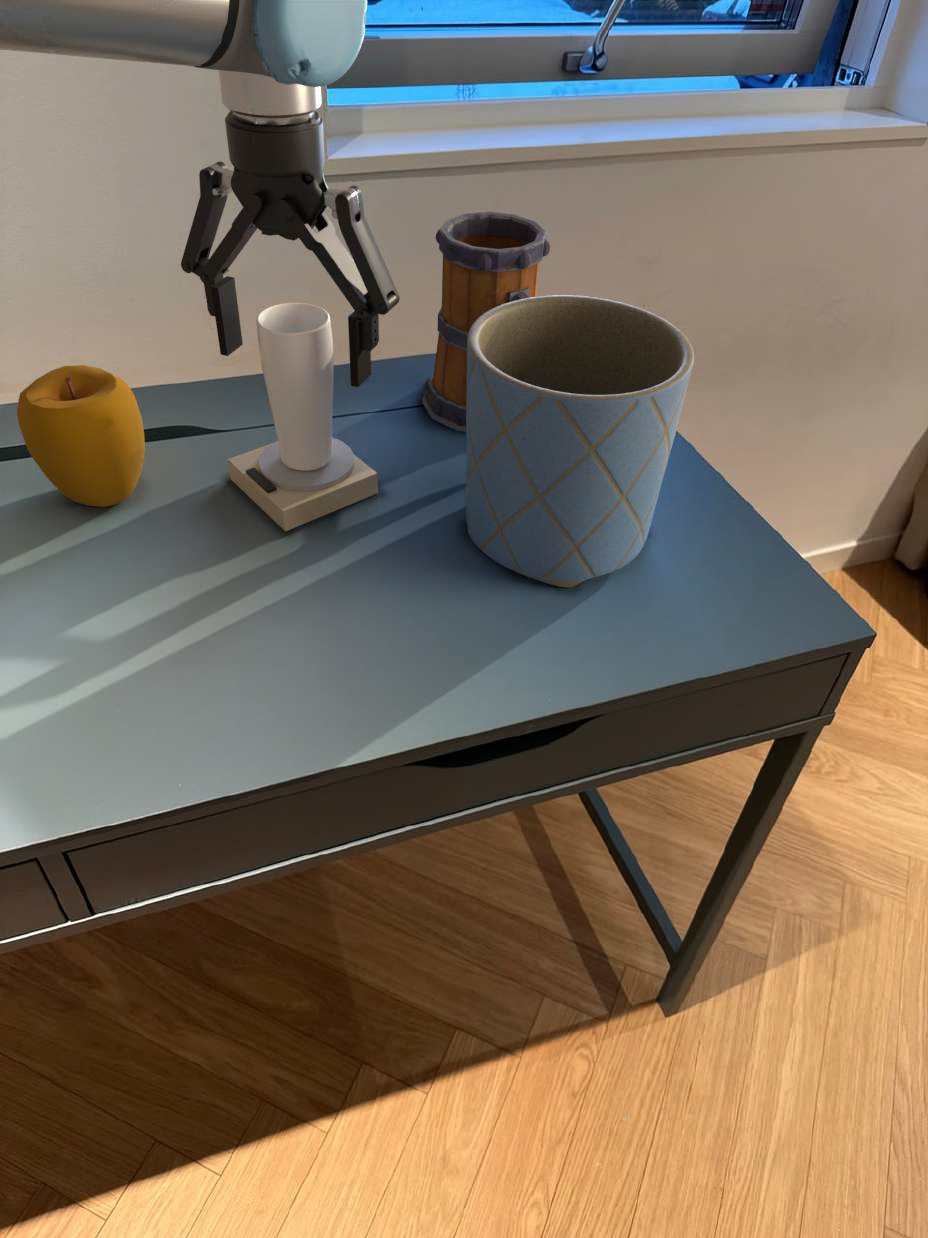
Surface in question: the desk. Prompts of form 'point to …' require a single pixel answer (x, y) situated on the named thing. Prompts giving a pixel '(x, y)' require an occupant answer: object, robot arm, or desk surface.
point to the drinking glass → (299, 381)
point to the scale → (302, 484)
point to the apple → (84, 433)
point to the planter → (569, 432)
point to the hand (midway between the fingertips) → (295, 364)
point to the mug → (477, 294)
